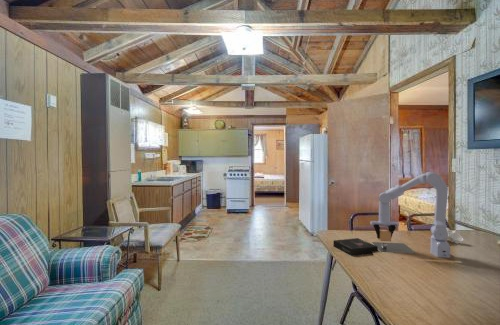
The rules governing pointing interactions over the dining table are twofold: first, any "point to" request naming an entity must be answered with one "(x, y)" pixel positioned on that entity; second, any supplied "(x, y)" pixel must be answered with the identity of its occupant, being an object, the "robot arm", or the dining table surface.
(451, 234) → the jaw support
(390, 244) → the base plate
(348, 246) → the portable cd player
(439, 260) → the dining table surface
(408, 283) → the dining table surface
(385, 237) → the tan wooden block
